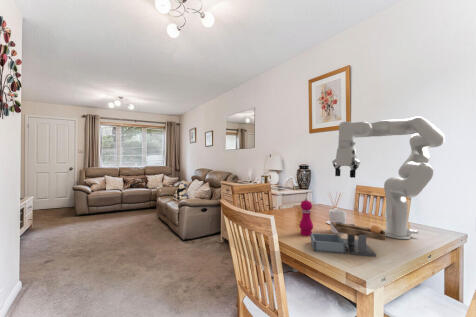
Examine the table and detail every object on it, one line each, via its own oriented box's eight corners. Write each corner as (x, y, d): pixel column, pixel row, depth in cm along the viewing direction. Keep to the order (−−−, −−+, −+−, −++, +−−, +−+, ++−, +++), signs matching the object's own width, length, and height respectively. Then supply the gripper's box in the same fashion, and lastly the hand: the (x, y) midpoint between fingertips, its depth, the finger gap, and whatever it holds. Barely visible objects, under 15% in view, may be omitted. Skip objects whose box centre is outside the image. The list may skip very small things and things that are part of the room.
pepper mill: (297, 232, 128) (297, 196, 128) (309, 232, 128) (310, 196, 129) (302, 236, 121) (302, 199, 121) (315, 236, 121) (315, 198, 121)
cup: (343, 229, 133) (343, 209, 133) (348, 234, 124) (349, 212, 124) (327, 229, 134) (327, 209, 134) (331, 234, 125) (331, 212, 125)
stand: (361, 241, 114) (361, 224, 114) (375, 256, 96) (375, 236, 96) (339, 240, 116) (339, 223, 116) (350, 254, 98) (350, 234, 98)
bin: (338, 244, 110) (338, 234, 110) (345, 254, 98) (345, 243, 98) (310, 242, 113) (310, 232, 113) (314, 251, 101) (314, 241, 101)
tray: (372, 230, 111) (373, 223, 111) (385, 241, 97) (386, 232, 97) (331, 223, 115) (332, 216, 115) (338, 232, 100) (339, 224, 100)
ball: (377, 234, 103) (379, 225, 103) (381, 237, 99) (383, 228, 99) (368, 231, 103) (370, 223, 103) (371, 234, 100) (373, 225, 99)
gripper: (365, 144, 116) (364, 178, 116) (338, 146, 132) (337, 175, 132) (354, 143, 113) (353, 178, 113) (328, 145, 129) (327, 175, 129)
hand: (344, 176), depth 122 cm, fingers open, 9 cm apart
